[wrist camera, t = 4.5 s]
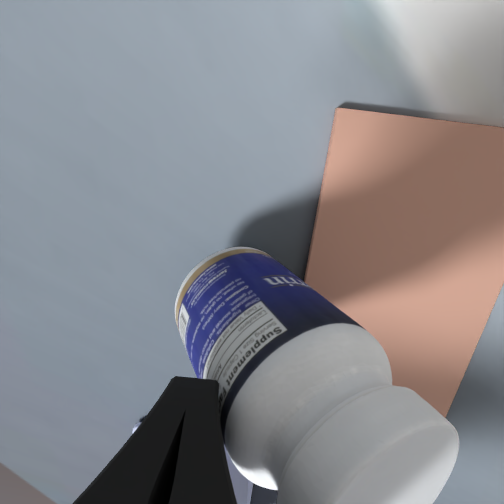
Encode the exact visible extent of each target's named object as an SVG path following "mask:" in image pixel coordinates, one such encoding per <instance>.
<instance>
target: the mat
mask: <svg viewBox="0 0 504 504" xmlns="http://www.w3.org/2000/svg"><path fill="white" fill-rule="evenodd" d="M304 282H305V283H306V284H307V285H309V286H310V287H311V288H313V289H314V290H315V291H316V292H318V293H319V294H320V295H322V296H323V297H324V298H325V299H327V300H328V301H329V302H331V303H332V304H333V305H334V306H336V307H337V308H338V309H340V310H341V311H342V312H344V313H345V314H346V315H348V316H349V317H350V318H352V319H353V320H354V321H356V322H357V323H358V324H359V325H361V326H362V327H363V328H364V329H366V330H367V331H368V332H369V333H370V334H371V335H372V336H373V337H374V338H375V339H376V340H377V341H378V342H379V343H380V345H381V346H382V347H383V349H384V351H385V353H386V355H387V357H388V360H389V363H390V367H391V372H392V385H393V386H401V387H406V388H409V389H411V390H413V391H415V392H416V393H417V394H418V395H419V396H420V397H422V398H423V399H424V400H425V401H427V402H428V403H429V404H430V405H431V406H432V407H433V408H435V409H436V410H437V411H438V412H439V413H440V414H441V415H442V416H443V417H444V418H446V415H447V413H448V411H449V408H450V406H451V404H452V402H453V399H454V397H455V395H456V392H457V390H458V388H459V385H460V383H461V381H462V378H463V376H464V374H465V371H466V369H467V367H468V364H469V362H470V360H471V357H472V355H473V353H474V350H475V348H476V346H477V344H478V341H479V339H480V337H481V334H482V332H483V330H484V327H485V325H486V323H487V320H488V318H489V316H490V313H491V311H492V309H493V306H494V304H495V302H496V299H497V297H498V295H499V292H500V290H501V288H502V286H503V283H504V128H503V127H494V126H486V125H478V124H470V123H461V122H453V121H445V120H437V119H428V118H420V117H412V116H404V115H395V114H387V113H379V112H371V111H362V110H354V109H346V108H336V110H335V115H334V121H333V126H332V132H331V137H330V142H329V148H328V153H327V159H326V164H325V169H324V175H323V180H322V186H321V191H320V196H319V202H318V207H317V213H316V218H315V223H314V229H313V234H312V240H311V245H310V250H309V256H308V261H307V267H306V272H305V277H304Z"/></svg>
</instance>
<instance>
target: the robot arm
mask: <svg viewBox="0 0 504 504" xmlns="http://www.w3.org/2000/svg"><path fill="white" fill-rule="evenodd" d="M218 395H219V383H218V382H217V381H216V380H212V379H200V378H189V377H178V376H175V377H174V378H172V379H171V381H170V383H169V384H168V386H167V387H166V389H165V390H164V392H163V394H162V395H161V396H160V398H159V399H158V401H157V402H156V404H155V405H154V406H153V408H152V409H151V411H150V412H149V413H148V415H147V416H146V417H145V419H144V420H143V421H142V422H139V423H136V424H135V426H134V428H133V434H132V436H131V437H130V438H129V439H128V441H127V442H126V443H125V444H124V446H123V447H122V448H121V449H120V450H119V452H118V453H117V454H116V455H115V456H114V457H113V459H112V460H111V461H110V462H109V463H108V464H107V466H106V467H105V468H104V469H103V470H102V472H101V473H100V474H99V475H98V476H97V477H96V478H95V480H94V481H93V482H92V483H91V484H90V485H89V486H88V487H87V488H86V490H85V491H84V492H83V493H82V494H81V495H80V496H79V497H78V498H77V499H76V500H75V501H74V503H73V504H250V500H251V494H252V488H253V482H251V481H250V480H248V479H247V478H246V477H244V476H243V475H242V474H241V473H240V472H239V470H238V469H237V468H236V466H235V465H234V463H233V462H232V460H231V458H230V456H229V454H228V452H227V450H226V447H225V445H224V442H223V437H222V430H221V423H220V414H219V399H218Z"/></svg>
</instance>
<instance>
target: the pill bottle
mask: <svg viewBox="0 0 504 504" xmlns="http://www.w3.org/2000/svg"><path fill="white" fill-rule="evenodd" d="M175 319H176V324H177V327H178V330H179V333H180V335H181V338H182V341H183V343H184V346H185V349H186V351H187V354H188V356H189V358H190V361H191V363H192V366H193V368H194V371H195V373H196V375H197V378H200V379H212V380H216V381H217V382H218V383H219V395H218V399H219V414H220V423H221V430H222V437H223V442H224V445H225V447H226V450H227V452H228V454H229V456H230V458H231V460H232V462H233V463H234V465H235V466H236V468H237V469H238V470H239V472H240V473H241V474H242V475H243V476H244V477H246V478H247V479H248V480H250V481H251V482H253V483H254V484H256V485H259V486H261V487H264V488H267V489H272V490H278V497H277V501H276V504H432V503H433V502H434V501H435V499H436V498H437V496H438V495H439V493H440V492H441V490H442V488H443V487H444V485H445V483H446V481H447V479H448V478H449V476H450V474H451V472H452V470H453V468H454V465H455V462H456V459H457V455H458V451H459V437H458V433H457V430H456V429H455V428H454V426H453V425H452V424H451V423H450V422H449V421H448V420H447V419H446V418H444V417H443V416H442V415H441V414H440V413H439V412H438V411H437V410H436V409H435V408H433V407H432V406H431V405H430V404H429V403H428V402H427V401H425V400H424V399H423V398H422V397H420V396H419V395H418V394H417V393H416V392H415V391H413V390H411V389H409V388H406V387H401V386H393V385H392V372H391V367H390V363H389V360H388V357H387V355H386V353H385V351H384V349H383V347H382V346H381V345H380V343H379V342H378V341H377V340H376V339H375V338H374V337H373V336H372V335H371V334H370V333H369V332H368V331H367V330H366V329H364V328H363V327H362V326H361V325H359V324H358V323H357V322H356V321H354V320H353V319H352V318H350V317H349V316H348V315H346V314H345V313H344V312H342V311H341V310H340V309H338V308H337V307H336V306H334V305H333V304H332V303H331V302H329V301H328V300H327V299H325V298H324V297H323V296H322V295H320V294H319V293H318V292H316V291H315V290H314V289H313V288H311V287H310V286H309V285H307V284H306V283H305V282H304V281H302V280H301V279H300V278H299V277H297V276H296V275H295V274H293V273H292V272H291V271H289V270H288V269H287V268H286V267H284V266H283V265H282V264H281V263H279V262H278V261H277V260H275V259H274V258H273V257H271V256H270V255H269V254H267V253H265V252H263V251H261V250H258V249H255V248H250V247H232V248H227V249H224V250H221V251H218V252H216V253H214V254H212V255H210V256H209V257H207V258H206V259H204V260H203V261H201V262H200V263H199V264H198V265H196V266H195V267H194V268H193V269H192V271H191V272H190V273H189V274H188V275H187V277H186V278H185V280H184V282H183V283H182V285H181V287H180V290H179V292H178V295H177V299H176V303H175Z"/></svg>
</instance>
